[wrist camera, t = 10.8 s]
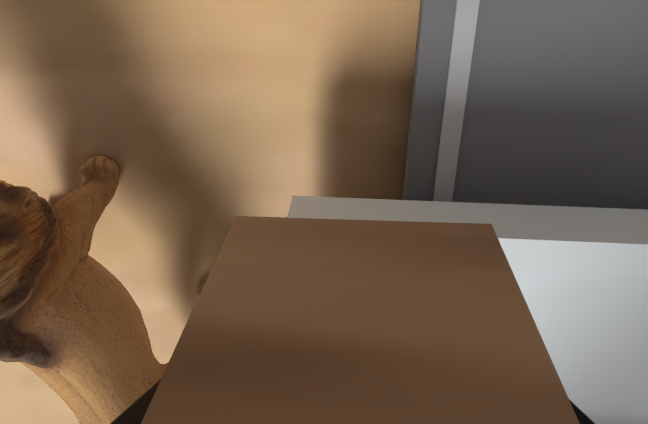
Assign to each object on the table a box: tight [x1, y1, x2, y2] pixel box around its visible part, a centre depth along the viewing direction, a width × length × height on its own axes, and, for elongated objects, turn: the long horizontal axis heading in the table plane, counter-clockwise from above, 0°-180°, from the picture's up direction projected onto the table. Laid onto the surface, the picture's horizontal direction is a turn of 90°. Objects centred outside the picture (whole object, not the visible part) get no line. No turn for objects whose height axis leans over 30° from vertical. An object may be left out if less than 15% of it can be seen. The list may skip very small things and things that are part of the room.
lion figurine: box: [0, 156, 205, 424], centre depth 17 cm, size 15×5×9 cm, turn 40°
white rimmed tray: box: [287, 196, 648, 424], centre depth 18 cm, size 9×17×4 cm, turn 89°
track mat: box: [402, 0, 648, 210], centre depth 18 cm, size 22×10×1 cm, turn 179°
